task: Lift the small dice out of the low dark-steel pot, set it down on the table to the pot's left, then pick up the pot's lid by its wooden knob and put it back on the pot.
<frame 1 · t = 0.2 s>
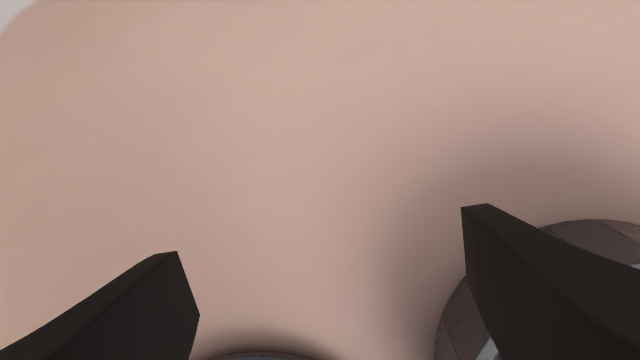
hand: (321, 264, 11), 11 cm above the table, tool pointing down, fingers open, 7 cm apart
pot: (577, 353, 23), on the table
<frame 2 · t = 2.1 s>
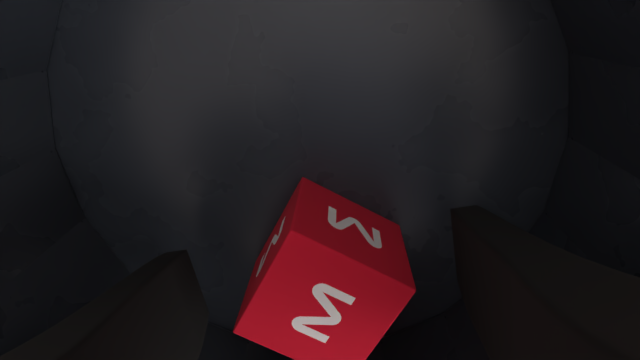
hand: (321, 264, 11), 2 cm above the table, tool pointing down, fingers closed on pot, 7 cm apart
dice: (326, 240, 13), resting on pot
pot: (304, 139, 12), on the table
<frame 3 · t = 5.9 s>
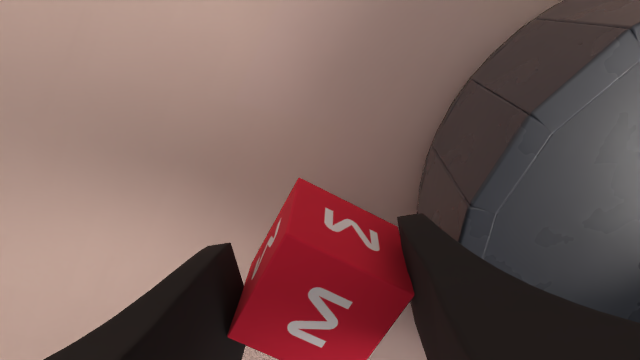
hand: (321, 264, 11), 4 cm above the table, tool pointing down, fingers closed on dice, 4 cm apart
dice: (323, 241, 12), point 3 cm above the table, touching gripper
pot: (637, 202, 15), on the table
when the fingers open (2 cm above the table, at t = 8.2 s): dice stays where it is, on the table.
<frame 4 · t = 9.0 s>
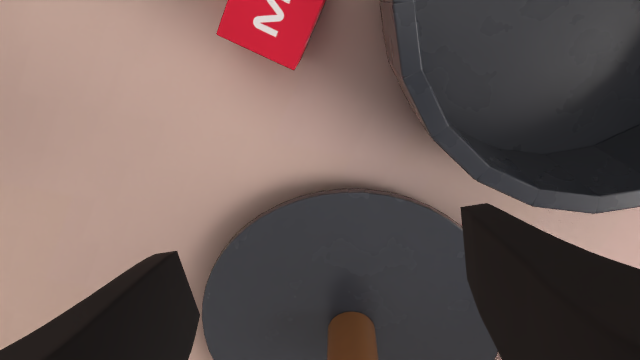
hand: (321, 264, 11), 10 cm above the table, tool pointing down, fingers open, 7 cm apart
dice: (282, 9, 18), on the table
lid: (351, 323, 23), point 1 cm above the table
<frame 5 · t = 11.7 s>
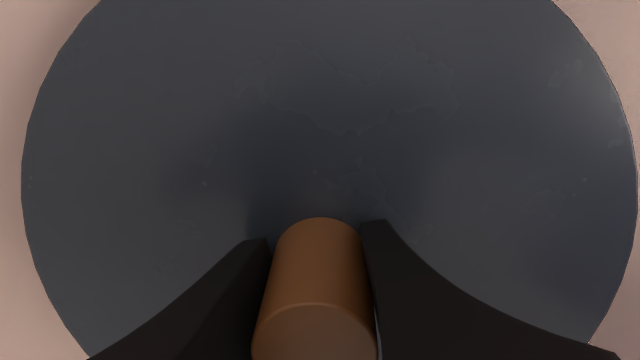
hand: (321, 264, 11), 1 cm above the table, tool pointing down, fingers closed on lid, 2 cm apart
lid: (322, 247, 12), point 1 cm above the table, touching gripper
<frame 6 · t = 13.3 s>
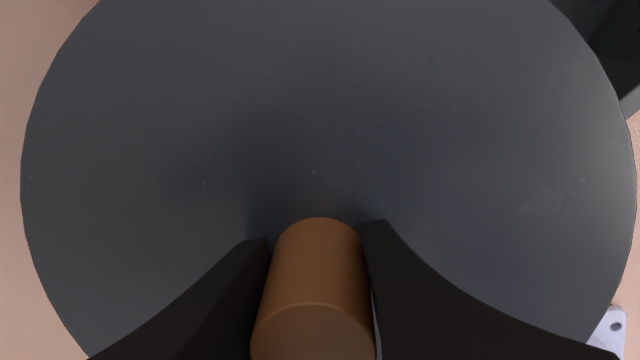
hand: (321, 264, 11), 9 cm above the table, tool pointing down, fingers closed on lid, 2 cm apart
lid: (321, 247, 12), point 8 cm above the table, touching gripper
when the fingers open (6 cm above the table, at t = 15.2 s): lid stays where it is, resting on pot.
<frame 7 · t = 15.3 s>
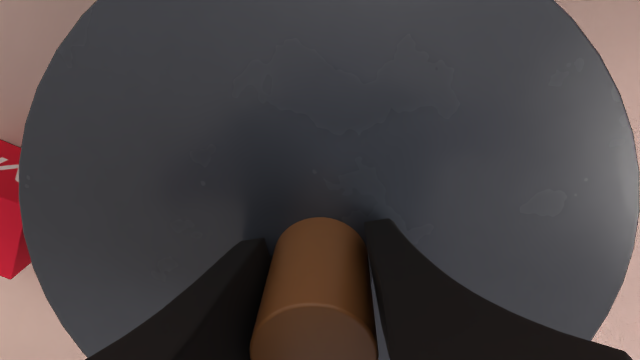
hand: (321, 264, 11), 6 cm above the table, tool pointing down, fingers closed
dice: (35, 187, 17), on the table
lid: (321, 248, 12), point 5 cm above the table, touching pot
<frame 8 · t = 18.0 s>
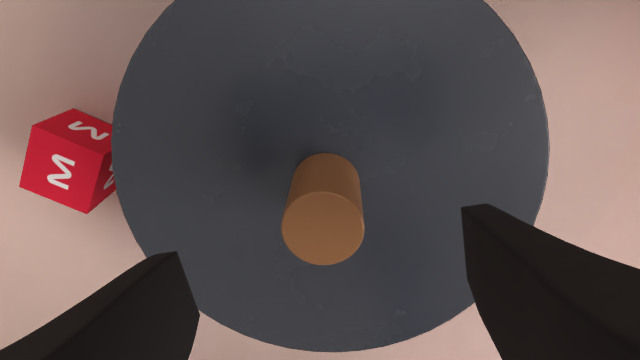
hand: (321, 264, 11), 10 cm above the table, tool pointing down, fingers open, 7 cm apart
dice: (98, 147, 22), on the table
lid: (326, 178, 16), point 5 cm above the table, touching pot
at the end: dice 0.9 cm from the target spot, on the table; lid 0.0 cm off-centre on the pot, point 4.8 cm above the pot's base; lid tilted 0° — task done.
